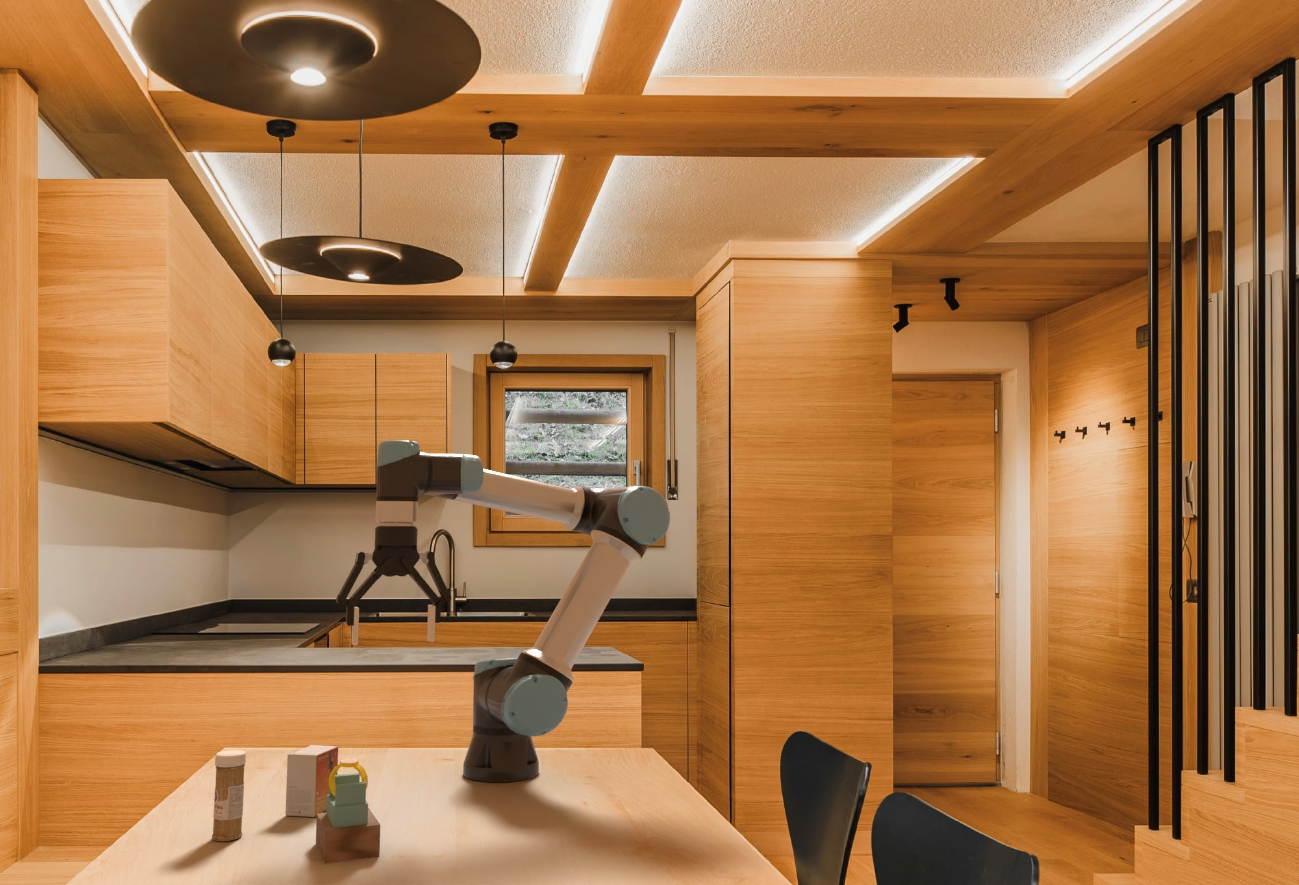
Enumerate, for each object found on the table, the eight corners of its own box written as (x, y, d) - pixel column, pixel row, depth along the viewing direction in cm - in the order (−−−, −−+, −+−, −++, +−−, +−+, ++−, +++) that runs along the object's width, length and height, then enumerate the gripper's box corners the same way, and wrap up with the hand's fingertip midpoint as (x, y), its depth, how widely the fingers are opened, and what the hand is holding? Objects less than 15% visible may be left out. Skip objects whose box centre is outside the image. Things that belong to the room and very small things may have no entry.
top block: (358, 810, 162) (360, 772, 162) (367, 824, 155) (368, 783, 155) (326, 814, 160) (327, 775, 160) (333, 828, 153) (334, 787, 153)
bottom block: (367, 839, 163) (368, 808, 163) (379, 858, 154) (380, 824, 154) (315, 846, 160) (316, 813, 160) (324, 865, 151) (325, 831, 151)
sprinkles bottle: (206, 838, 162) (210, 752, 163) (233, 832, 166) (237, 747, 167) (220, 844, 159) (224, 756, 160) (248, 837, 163) (251, 752, 164)
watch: (368, 800, 158) (372, 761, 158) (359, 805, 155) (363, 765, 156) (334, 794, 160) (337, 756, 160) (324, 799, 157) (328, 760, 157)
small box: (314, 818, 174) (316, 755, 175) (284, 816, 175) (286, 753, 176) (337, 806, 182) (339, 745, 182) (308, 804, 183) (310, 744, 183)
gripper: (458, 525, 194) (456, 637, 193) (322, 524, 184) (318, 643, 182) (468, 525, 187) (466, 642, 186) (328, 524, 177) (324, 648, 175)
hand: (393, 643), depth 184 cm, fingers open, 13 cm apart
